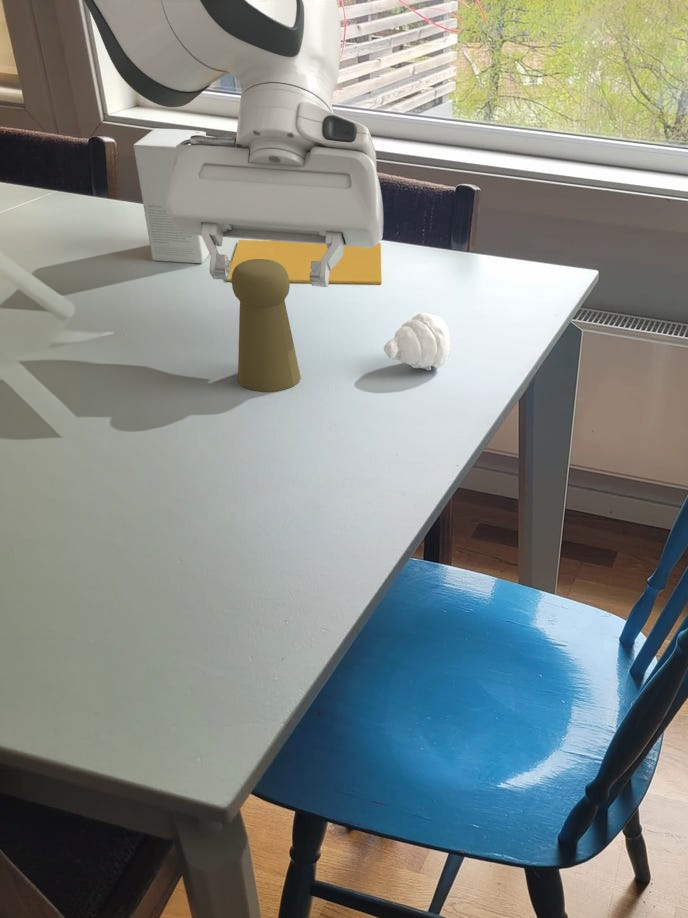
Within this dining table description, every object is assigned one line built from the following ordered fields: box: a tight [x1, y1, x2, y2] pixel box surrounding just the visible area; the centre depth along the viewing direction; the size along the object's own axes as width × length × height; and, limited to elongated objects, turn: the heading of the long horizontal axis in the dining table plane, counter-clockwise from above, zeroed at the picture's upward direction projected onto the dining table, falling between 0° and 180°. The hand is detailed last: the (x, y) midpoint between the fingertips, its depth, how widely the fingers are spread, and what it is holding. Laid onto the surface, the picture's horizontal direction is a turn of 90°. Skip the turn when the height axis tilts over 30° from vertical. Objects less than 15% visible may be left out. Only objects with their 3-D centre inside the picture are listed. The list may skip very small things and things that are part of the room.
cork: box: [231, 259, 302, 393], centre depth 93 cm, size 6×6×11 cm
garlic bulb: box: [383, 312, 451, 371], centre depth 98 cm, size 6×6×5 cm
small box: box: [132, 127, 210, 264], centre depth 119 cm, size 8×6×13 cm
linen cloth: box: [225, 239, 382, 285], centre depth 122 cm, size 18×14×1 cm
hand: (268, 280), depth 93 cm, fingers open, 8 cm apart
